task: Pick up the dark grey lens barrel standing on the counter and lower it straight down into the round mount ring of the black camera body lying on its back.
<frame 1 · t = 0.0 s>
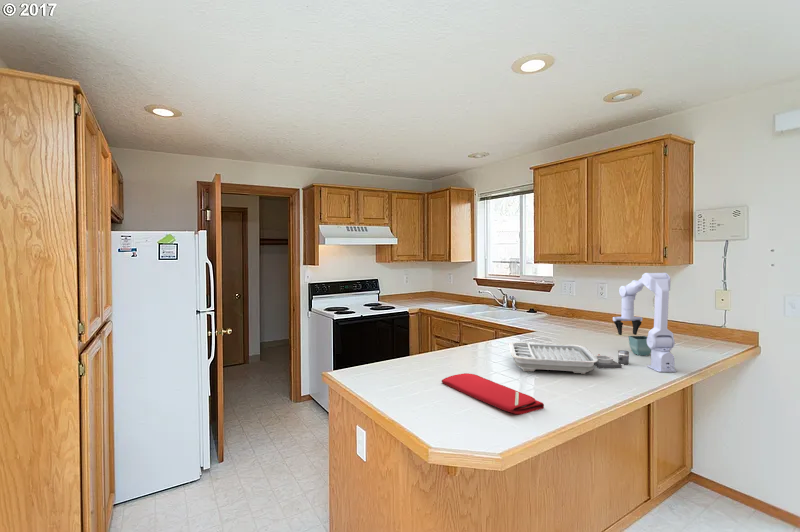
hand: (627, 334, 217), 10 cm above the countertop, tool pointing down, fingers open, 7 cm apart
lens: (623, 363, 199), on the countertop
dish rack: (550, 367, 196), on the countertop
red folded towel: (488, 396, 158), on the countertop
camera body: (603, 364, 198), on the countertop
flower pot: (640, 355, 215), on the countertop
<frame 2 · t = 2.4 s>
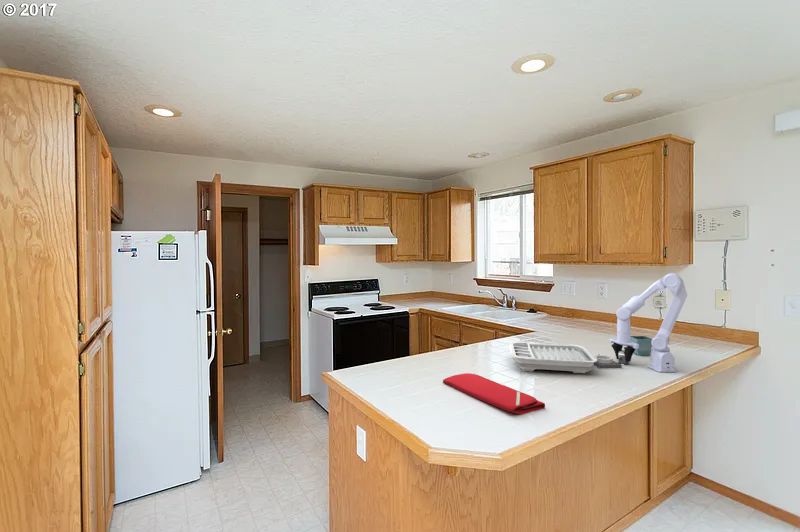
hand: (623, 360, 198), 2 cm above the countertop, tool pointing down, fingers closed on lens, 4 cm apart
lens: (623, 363, 199), on the countertop, touching gripper
everything else where it was.
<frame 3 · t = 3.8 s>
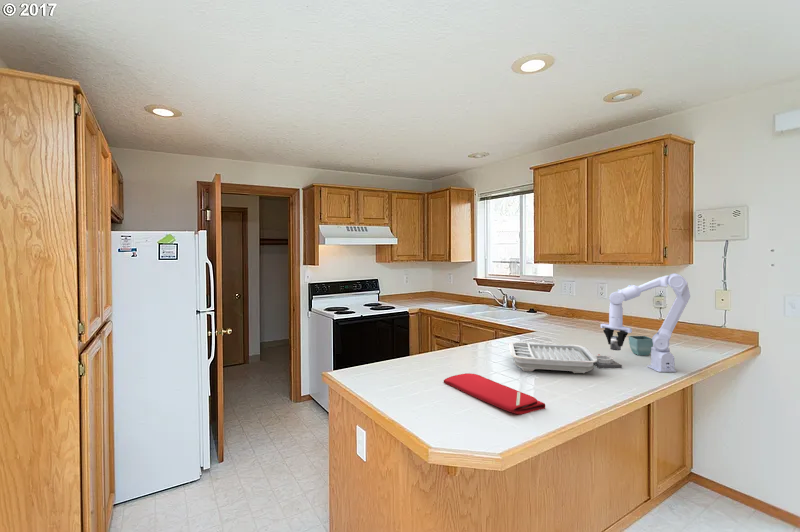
hand: (615, 345, 198), 9 cm above the countertop, tool pointing down, fingers closed on lens, 4 cm apart
lens: (615, 349, 198), point 7 cm above the countertop, touching gripper
everything else where it was.
when the fingers open (4 cm above the countertop, at t = 5.5 s): lens stays where it is, resting on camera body.
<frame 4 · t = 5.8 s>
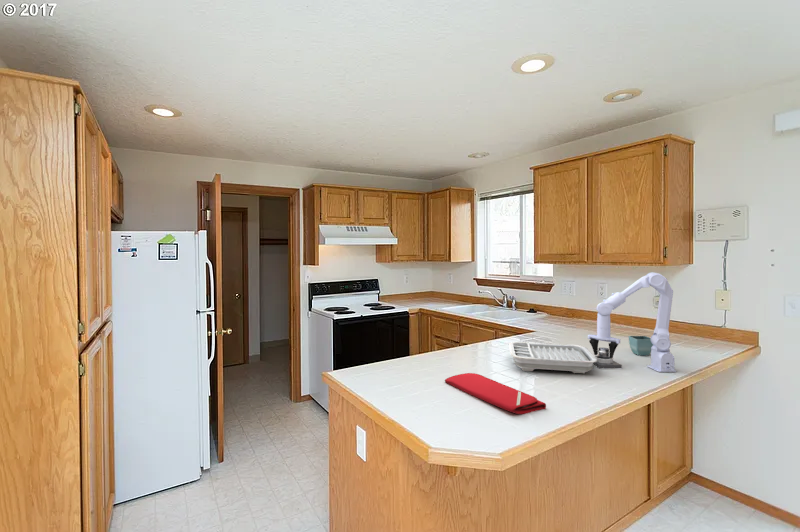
hand: (603, 356, 198), 4 cm above the countertop, tool pointing down, fingers open, 7 cm apart
lens: (603, 361, 198), point 2 cm above the countertop, touching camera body
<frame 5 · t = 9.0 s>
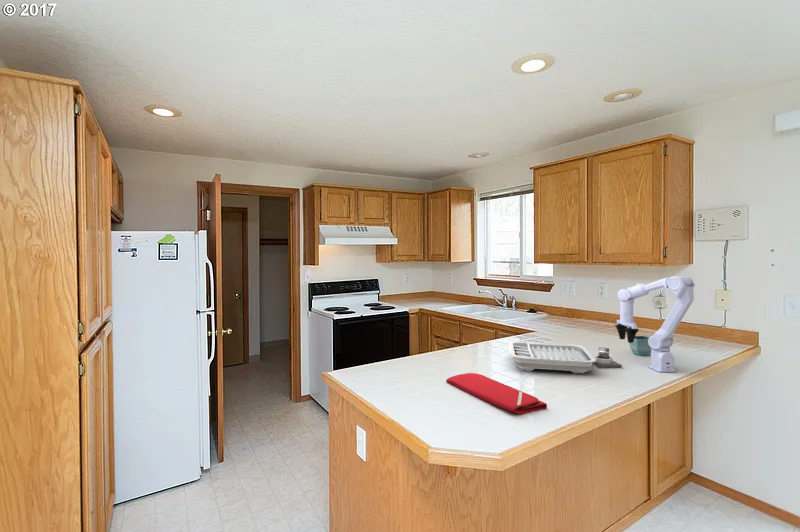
hand: (626, 340, 203), 10 cm above the countertop, tool pointing down, fingers open, 7 cm apart
at the end: lens 0.2 cm off-centre on the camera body, point 1.6 cm above the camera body's base; lens tilted 1°; the gripper is holding nothing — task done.
